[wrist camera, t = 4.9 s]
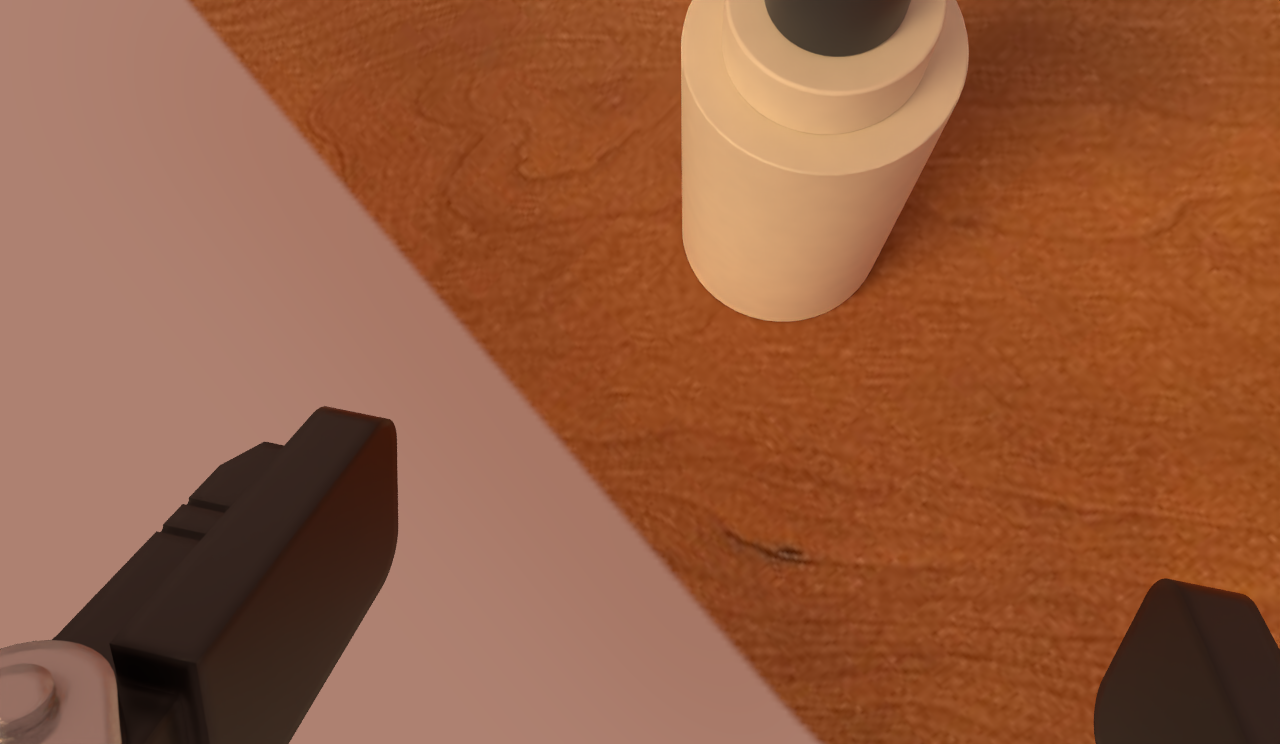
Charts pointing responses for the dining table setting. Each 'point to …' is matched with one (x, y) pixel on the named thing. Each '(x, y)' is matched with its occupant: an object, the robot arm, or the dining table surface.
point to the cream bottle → (807, 140)
